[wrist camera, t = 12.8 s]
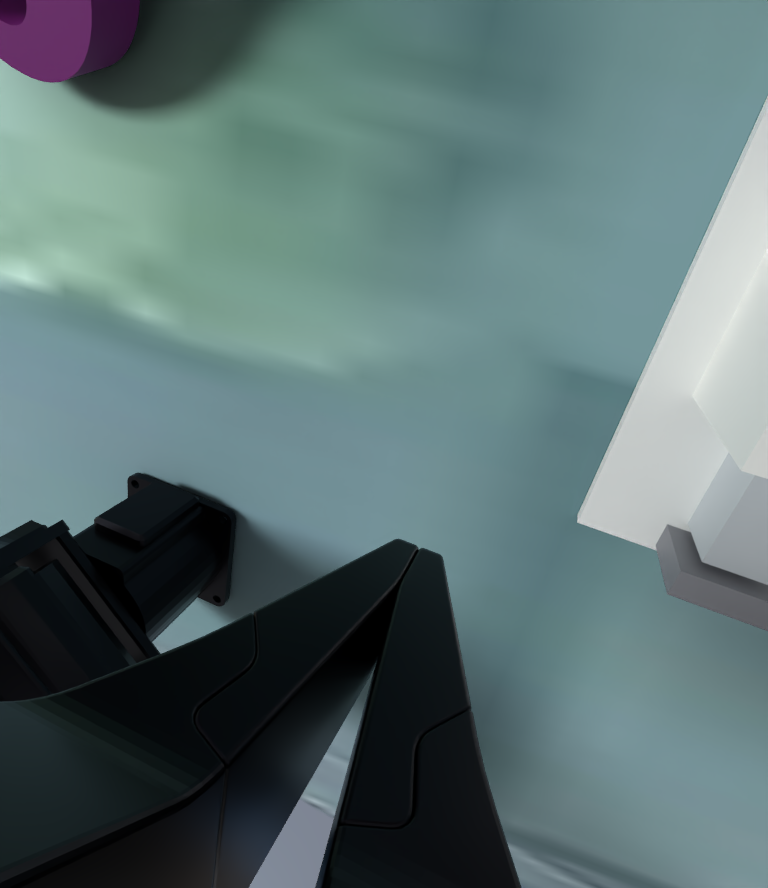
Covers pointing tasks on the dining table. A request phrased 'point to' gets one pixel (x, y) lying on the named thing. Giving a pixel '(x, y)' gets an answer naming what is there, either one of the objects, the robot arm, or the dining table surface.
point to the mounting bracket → (65, 35)
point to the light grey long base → (696, 426)
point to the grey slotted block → (742, 380)
